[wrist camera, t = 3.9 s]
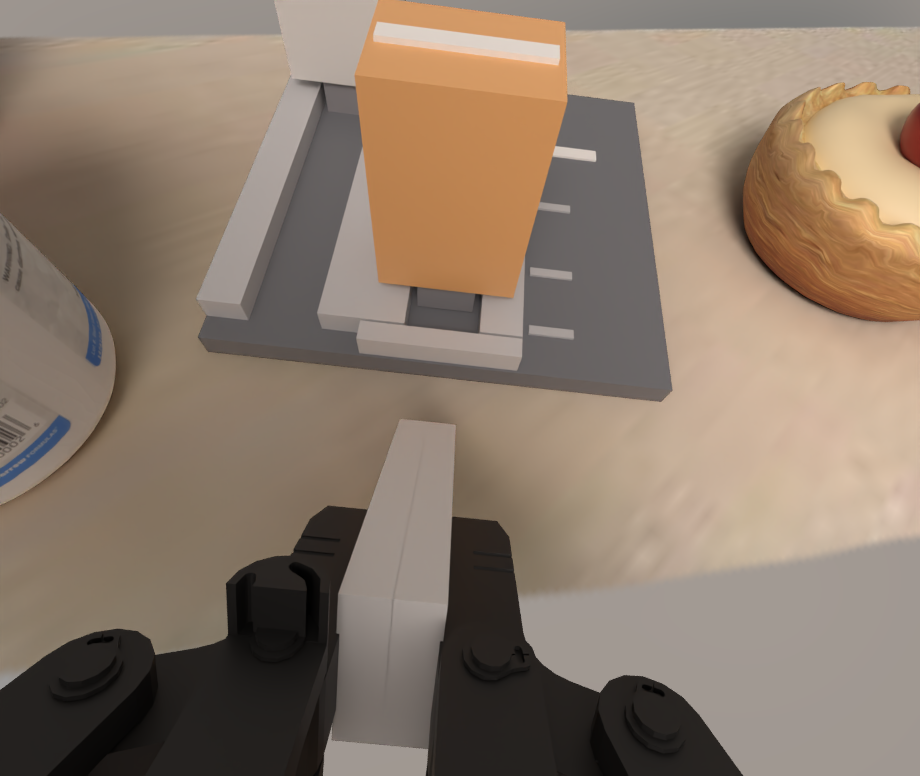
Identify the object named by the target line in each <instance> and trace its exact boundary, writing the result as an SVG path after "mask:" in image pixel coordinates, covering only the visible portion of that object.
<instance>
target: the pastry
mask: <svg viewBox="0 0 920 776" xmlns="http://www.w3.org/2000/svg"><path fill="white" fill-rule="evenodd" d="M844 88H845V83H837V84H834V85H831V86H829V87H827V88H824V89H822V90H821V89H820V87H817V88H814V89H812V90H809V91H807V92H805V93H804V94H802V95H800V96H798V97H797V98H795V99H793V100H792V101H790V102H789V103H787V104H786V105H785V106H783V107H782V108H781V109H780V110H779V112H778V113H777V115H776V116H775V118H774V119H773V121H772V123H771V124H770V126H769V128H768V130H767V131H766V133H765V135H764V136H763V138H762V140H761V141H760V143H759V145H758V147H757V149H756V151H755V153H754V155H753V157H752V159H751V161H750V164H749V167H748V170H747V175H746V179H745V183H744V187H743V218H744V225H745V230H746V233H747V235H748V238H749V240H750V242H751V244H752V246H753V247H754V249H755V251H756V253H757V254H758V255H759V256H760V257H761V259H762V260H763V261H764V262H765V263H766V265H767V266H768V267H769V268H770V269H771V270H772V271H773V272H774V273H775V274H776V275H777V276H778V277H779V278H781V279H782V280H783V281H785V282H786V283H787V284H788V285H790V286H791V287H792V288H794V289H795V290H797V291H798V292H800V293H801V294H802V295H804V296H805V297H807V298H809V299H811V300H813V301H815V302H817V303H819V304H821V305H823V306H825V307H827V308H829V309H832V310H834V311H836V312H839V313H842V314H846V315H849V316H852V317H856V318H860V319H865V320H869V321H882V322H894V321H913V320H920V94H910V89H909V87H906V86H895V87H892V88H889V89H887V90H881V91H879V90H878V89H877V86H876V84H875V83H873V82H863V83H861V84H859V85H856V86H854V87H852V88H849V89H846V90H845V89H844Z"/></svg>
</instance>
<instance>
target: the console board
mask: <svg viewBox="0 0 920 776" xmlns="http://www.w3.org/2000/svg"><path fill="white" fill-rule="evenodd" d="M399 1H406V0H399ZM274 2H275V6H276V11H277V15H278V20H279V24H280V28H281V33H282V37H283V41H284V46H285V50H286V55H287V59H288V63H289V68H290V72H291V76H290V78H289V80H288V83H287V85H286V87H285V90H284V92H283V95H282V97H281V99H280V102H279V104H278V106H277V109H276V111H275V113H274V116H273V118H272V121H271V123H270V125H269V128H268V130H267V132H266V135H265V137H264V139H263V142H262V144H261V147H260V149H259V151H258V154H257V156H256V158H255V161H254V163H253V165H252V168H251V170H250V173H249V175H248V177H247V180H246V182H245V184H244V187H243V189H242V191H241V194H240V196H239V199H238V201H237V203H236V206H235V208H234V210H233V213H232V215H231V217H230V220H229V222H228V225H227V227H226V229H225V232H224V234H223V236H222V239H221V241H220V243H219V246H218V248H217V251H216V253H215V255H214V258H213V260H212V262H211V265H210V267H209V269H208V272H207V274H206V277H205V279H204V281H203V284H202V286H201V288H200V291H199V293H198V295H197V298H196V300H197V302H198V303H199V305H200V306H201V308H202V309H203V311H204V312H205V314H206V315H207V316H206V318H205V321H204V323H203V326H202V328H201V331H200V333H199V336H198V338H199V340H200V341H201V342H202V344H203V345H204V346H205V348H206V349H207V350H208V352H217V353H226V354H235V355H244V356H253V357H262V358H271V359H280V360H289V361H298V362H307V363H316V364H325V365H334V366H343V367H353V368H362V369H371V370H380V371H389V372H398V373H407V374H416V375H425V376H434V377H443V378H452V379H461V380H470V381H479V382H488V383H497V384H506V385H515V386H524V387H533V388H542V389H551V390H560V391H569V392H578V393H587V394H596V395H605V396H614V397H623V398H632V399H641V400H650V401H659V402H661V401H662V400H663V399H664V398H665V397H666V396H667V395H668V394H669V393H670V392H671V391H672V384H671V376H670V369H669V361H668V354H667V346H666V339H665V331H664V324H663V316H662V309H661V301H660V294H659V286H658V279H657V271H656V264H655V256H654V249H653V241H652V234H651V226H650V219H649V211H648V204H647V196H646V189H645V181H644V174H643V166H642V159H641V151H640V144H639V136H638V129H637V121H636V114H635V106H634V103H631V102H623V101H615V100H607V99H599V98H591V97H584V96H576V95H568V94H567V105H566V109H565V113H564V116H563V120H562V124H561V127H560V131H559V134H558V138H557V142H556V145H555V149H554V152H553V156H552V160H551V163H550V167H549V170H548V174H547V178H546V181H545V185H544V189H543V192H542V196H541V199H540V203H539V207H538V210H537V214H536V217H535V221H534V225H533V228H532V232H531V235H530V239H529V243H528V246H527V250H526V254H525V257H524V261H523V264H522V268H521V272H520V275H519V279H518V282H517V286H516V290H515V293H514V297H513V298H509V297H500V296H491V295H483V294H475V299H474V305H473V311H472V312H465V311H456V310H448V309H439V308H430V307H422V306H418V302H417V287H414V286H405V285H396V284H388V283H379V281H378V273H377V264H376V256H375V247H374V239H373V230H372V221H371V213H370V204H369V196H368V187H367V179H366V170H365V162H364V153H363V144H362V136H361V127H360V119H359V110H358V102H357V93H356V84H355V76H354V75H355V71H356V68H357V65H358V62H359V59H360V56H361V53H362V49H363V46H364V43H365V40H366V37H367V34H368V31H369V28H370V24H371V21H372V18H373V15H374V12H375V9H376V6H377V2H378V0H274Z"/></svg>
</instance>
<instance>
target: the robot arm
mask: <svg viewBox="0 0 920 776" xmlns="http://www.w3.org/2000/svg"><path fill="white" fill-rule="evenodd" d="M455 437H456V425H455V424H445V423H436V422H427V421H418V420H408V419H400V420H399V423H398V426H397V429H396V431H395V434H394V437H393V440H392V443H391V446H390V448H389V451H388V454H387V457H386V460H385V462H384V465H383V468H382V471H381V474H380V477H379V479H378V482H377V485H376V488H375V491H374V494H373V496H372V499H371V502H370V505H369V508H368V510H365V509H356V508H346V507H336V506H327V507H326V508H324V509H323V510H322V511H320V512H319V513H318V514H316V515H315V516H313V517H312V518H311V519H310V521H309V522H308V524H307V526H306V528H305V530H304V532H303V533H302V535H301V539H299V541H298V543H297V544H296V546H295V548H294V552H293V553H292V554H291V555H290V556H275V557H271V558H267V559H263V560H259V561H256V562H254V563H252V564H250V565H248V566H247V567H245V568H243V569H241V570H239V571H238V572H237V573H236V574H235V575H234V576H233V577H232V578H231V579H230V580H229V581H228V582H227V583H226V592H227V616H228V636H227V637H226V639H224V640H222V641H219V642H217V643H215V644H211V645H207V646H203V647H199V648H194V649H188V650H182V651H176V652H170V653H164V654H158V655H155V652H154V649H153V646H152V643H151V641H150V639H148V638H147V637H145V636H144V635H142V634H141V633H139V632H138V631H131V630H123V629H113V630H107V631H100V632H94V633H91V634H89V635H86V636H83V637H81V638H78V639H75V640H72V641H70V642H68V643H66V644H65V645H63V646H61V647H60V648H58V649H56V650H55V651H53V652H51V653H50V654H48V655H46V656H45V657H43V658H42V659H41V660H39V661H38V662H37V663H35V664H34V665H33V666H31V667H30V668H29V669H28V670H26V671H25V672H24V673H22V674H21V675H20V676H18V677H17V678H16V679H14V680H13V681H12V682H10V683H9V684H8V685H6V686H5V687H4V688H2V689H1V690H0V776H323V765H324V752H325V748H326V744H327V741H328V737H329V733H330V730H331V726H332V740H335V741H346V742H357V743H368V744H379V745H390V746H401V747H413V748H423V749H428V761H427V762H428V763H427V771H426V776H743V775H742V774H741V772H740V771H739V769H738V768H737V767H736V765H735V764H734V763H733V761H732V760H731V758H730V757H729V756H728V754H727V753H726V752H725V750H724V749H723V747H722V746H721V745H720V743H719V742H718V740H717V739H716V738H715V736H714V735H713V734H712V732H711V731H710V729H709V728H708V727H707V725H706V724H705V722H704V721H703V720H702V718H701V717H700V716H699V714H698V713H697V712H696V711H695V710H694V709H693V708H692V707H691V706H690V705H689V704H688V702H687V701H686V700H685V699H684V698H683V697H682V696H680V695H679V694H677V693H676V692H674V691H673V690H671V689H670V688H668V687H667V686H665V685H663V684H662V683H659V682H656V681H654V680H651V679H648V678H646V677H643V676H627V675H624V676H621V677H618V678H616V679H613V680H611V681H609V682H608V683H607V684H606V686H605V687H604V688H603V690H602V691H601V692H600V693H599V692H596V691H594V690H591V689H589V688H585V687H583V686H581V685H578V684H576V683H573V682H571V681H568V680H566V679H564V678H562V677H560V676H558V675H556V674H554V673H553V672H552V671H551V670H549V669H548V668H546V667H545V666H544V665H543V664H542V663H541V662H540V661H539V660H538V659H537V658H536V656H535V654H534V651H533V649H532V647H531V646H530V645H529V644H528V643H527V642H526V640H525V637H524V633H523V628H522V621H521V614H520V608H519V601H518V594H517V587H516V581H515V574H514V567H513V560H512V558H511V556H512V554H511V547H510V540H509V536H508V535H507V534H506V532H505V531H504V530H503V529H502V527H501V526H500V525H499V523H498V522H497V521H489V520H479V519H470V518H460V517H452V503H453V481H454V459H455Z"/></svg>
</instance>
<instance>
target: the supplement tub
mask: <svg viewBox="0 0 920 776" xmlns="http://www.w3.org/2000/svg"><path fill="white" fill-rule="evenodd" d="M115 373H116V354H115V347H114V342H113V337H112V335H111V332H110V329H109V327H108V325H107V323H106V321H105V320H104V318H103V317H102V315H101V314H100V313H99V311H98V310H97V309H96V307H95V306H94V305H93V304H92V303H91V302H90V301H89V300H88V299H87V298H86V297H85V296H84V295H83V294H82V293H81V292H80V291H79V290H78V289H77V288H76V287H75V286H74V285H73V284H72V283H71V282H70V281H69V280H68V279H67V278H66V277H65V276H64V275H63V274H62V273H61V272H60V271H59V270H58V269H57V268H56V267H55V266H54V265H53V264H52V263H51V262H50V261H49V260H48V259H47V258H46V257H45V256H44V255H43V254H42V253H41V252H40V251H39V250H38V249H37V248H36V247H35V246H34V245H33V244H32V243H31V242H30V241H29V240H28V239H27V238H26V237H25V236H24V235H23V234H22V233H21V232H19V231H18V230H17V229H16V228H15V227H14V226H13V225H12V224H11V223H10V222H9V221H8V220H7V219H6V218H5V217H4V216H3V215H2V214H1V213H0V505H2V504H4V503H6V502H8V501H11V500H12V499H14V498H16V497H18V496H20V495H21V494H23V493H25V492H27V491H28V490H30V489H31V488H33V487H34V486H36V485H37V484H39V483H40V482H42V481H43V480H45V479H46V478H47V477H48V476H50V475H51V474H52V473H53V472H55V471H56V470H57V469H58V468H60V467H61V466H62V465H63V464H64V463H65V462H66V461H68V460H69V459H70V457H71V456H72V455H73V454H74V453H75V452H76V451H77V450H78V449H79V448H80V447H81V446H82V444H83V443H84V442H85V441H86V440H87V438H88V437H89V436H90V434H91V433H92V432H93V430H94V429H95V427H96V426H97V424H98V422H99V421H100V419H101V417H102V415H103V413H104V411H105V409H106V407H107V405H108V403H109V400H110V398H111V394H112V391H113V386H114V381H115Z"/></svg>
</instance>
